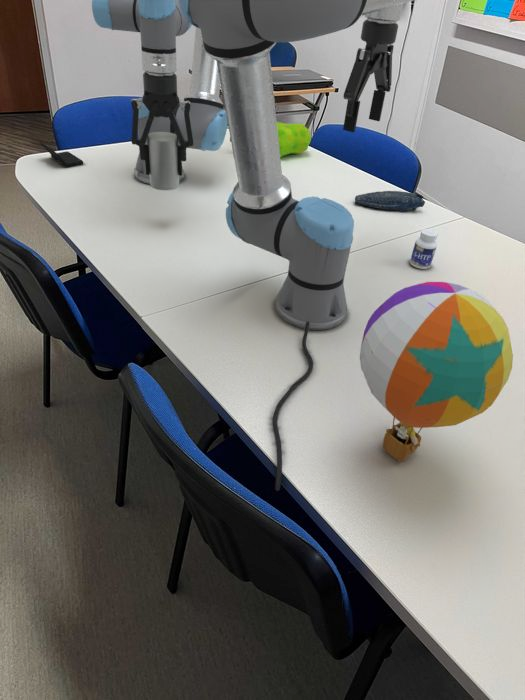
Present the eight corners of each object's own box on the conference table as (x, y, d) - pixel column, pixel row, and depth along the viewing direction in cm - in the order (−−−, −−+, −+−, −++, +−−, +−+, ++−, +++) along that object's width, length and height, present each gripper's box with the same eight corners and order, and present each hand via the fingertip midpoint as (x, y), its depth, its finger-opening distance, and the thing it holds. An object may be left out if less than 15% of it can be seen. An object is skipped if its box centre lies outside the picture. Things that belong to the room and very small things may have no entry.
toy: (311, 442, 83) (343, 281, 64) (387, 392, 94) (434, 241, 75) (410, 529, 72) (484, 365, 53) (484, 461, 83) (567, 304, 64)
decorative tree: (227, 117, 189) (306, 117, 195) (226, 146, 196) (303, 145, 201) (234, 131, 176) (319, 131, 181) (233, 162, 182) (315, 161, 187)
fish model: (423, 215, 157) (428, 199, 154) (354, 208, 158) (357, 191, 155) (420, 206, 162) (425, 191, 159) (353, 199, 163) (356, 184, 160)
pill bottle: (408, 266, 131) (417, 234, 126) (410, 257, 135) (419, 225, 130) (429, 271, 130) (439, 239, 125) (431, 262, 134) (441, 230, 129)
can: (184, 182, 135) (183, 135, 127) (171, 192, 129) (169, 143, 122) (158, 177, 136) (156, 129, 129) (144, 186, 131) (141, 137, 123)
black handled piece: (88, 157, 170) (65, 134, 161) (76, 174, 168) (53, 153, 160) (67, 152, 176) (45, 131, 168) (56, 170, 175) (33, 149, 166)
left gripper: (111, 73, 112) (121, 177, 127) (205, 78, 116) (205, 179, 130) (114, 66, 118) (123, 166, 132) (204, 71, 121) (203, 168, 136)
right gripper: (389, 15, 120) (370, 112, 134) (338, 21, 104) (322, 131, 117) (419, 20, 117) (397, 119, 130) (372, 27, 101) (352, 139, 114)
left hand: (164, 173), depth 131 cm, fingers closed on can, 7 cm apart
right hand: (362, 125), depth 124 cm, fingers open, 13 cm apart
